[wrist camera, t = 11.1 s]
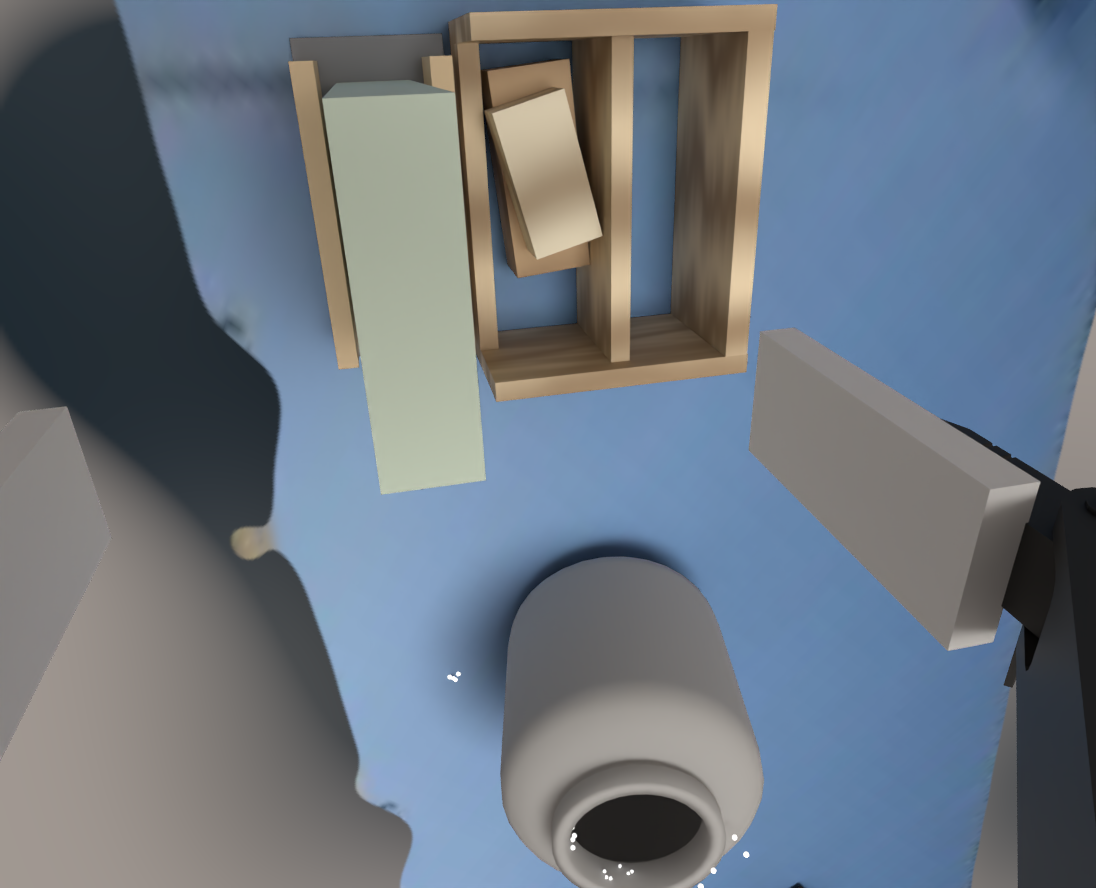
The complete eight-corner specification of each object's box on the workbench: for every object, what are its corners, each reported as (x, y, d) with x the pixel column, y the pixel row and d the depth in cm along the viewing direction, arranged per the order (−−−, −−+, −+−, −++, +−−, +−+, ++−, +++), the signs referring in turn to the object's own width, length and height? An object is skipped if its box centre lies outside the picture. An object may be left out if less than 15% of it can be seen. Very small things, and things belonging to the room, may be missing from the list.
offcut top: (483, 110, 37) (492, 113, 35) (551, 86, 38) (564, 88, 35) (527, 249, 41) (537, 259, 39) (589, 226, 41) (602, 236, 39)
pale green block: (336, 82, 38) (322, 98, 20) (408, 79, 39) (454, 92, 21) (370, 320, 43) (381, 494, 26) (433, 314, 44) (486, 480, 26)
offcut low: (477, 70, 40) (487, 70, 37) (552, 59, 40) (569, 58, 37) (506, 263, 44) (517, 278, 41) (573, 250, 45) (590, 264, 42)
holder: (290, 38, 37) (281, 35, 33) (441, 33, 38) (452, 29, 34) (341, 355, 44) (339, 387, 40) (467, 342, 46) (479, 372, 41)
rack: (448, 22, 38) (469, 12, 31) (704, 14, 41) (777, 4, 34) (474, 350, 46) (496, 401, 39) (689, 327, 48) (746, 372, 41)
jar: (440, 714, 57) (493, 1116, 35) (443, 544, 51) (510, 905, 29) (679, 688, 62) (859, 1033, 40) (709, 529, 55) (941, 833, 34)
